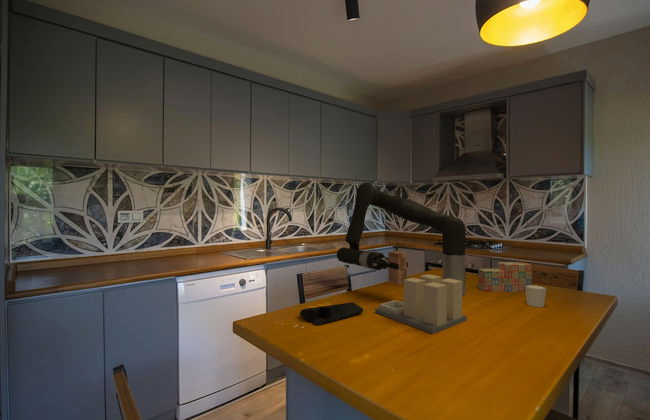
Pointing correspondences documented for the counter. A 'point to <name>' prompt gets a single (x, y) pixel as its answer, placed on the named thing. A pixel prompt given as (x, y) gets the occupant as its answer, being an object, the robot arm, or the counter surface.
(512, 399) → the counter surface
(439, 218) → the robot arm
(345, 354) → the counter surface
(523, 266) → the stack of blocks
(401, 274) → the terracotta pillar
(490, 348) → the counter surface
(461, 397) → the counter surface
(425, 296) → the pillar board
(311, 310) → the dark slate chunk
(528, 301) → the beige piece
